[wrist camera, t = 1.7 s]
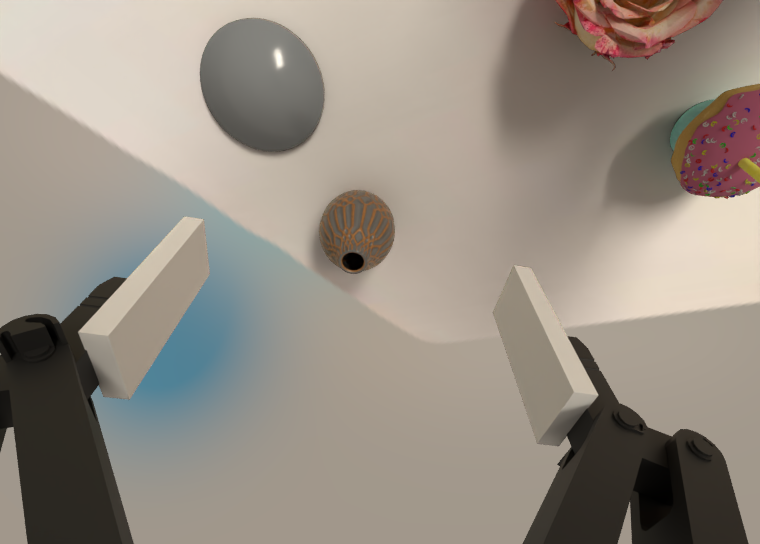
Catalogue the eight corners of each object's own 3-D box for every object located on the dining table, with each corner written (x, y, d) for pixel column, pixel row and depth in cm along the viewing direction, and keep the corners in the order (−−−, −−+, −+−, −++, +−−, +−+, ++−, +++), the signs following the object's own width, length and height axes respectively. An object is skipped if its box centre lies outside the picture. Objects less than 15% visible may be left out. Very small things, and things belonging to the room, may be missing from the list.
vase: (355, 165, 36) (346, 208, 29) (409, 210, 39) (412, 260, 32) (311, 214, 39) (293, 264, 32) (364, 253, 42) (358, 307, 35)
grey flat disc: (195, 6, 29) (192, 6, 29) (329, 31, 30) (328, 31, 29) (209, 139, 35) (206, 141, 34) (320, 157, 36) (319, 159, 35)
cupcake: (655, 191, 37) (749, 263, 27) (636, 110, 33) (740, 161, 23) (762, 143, 34) (910, 205, 24) (756, 48, 30) (932, 76, 20)
